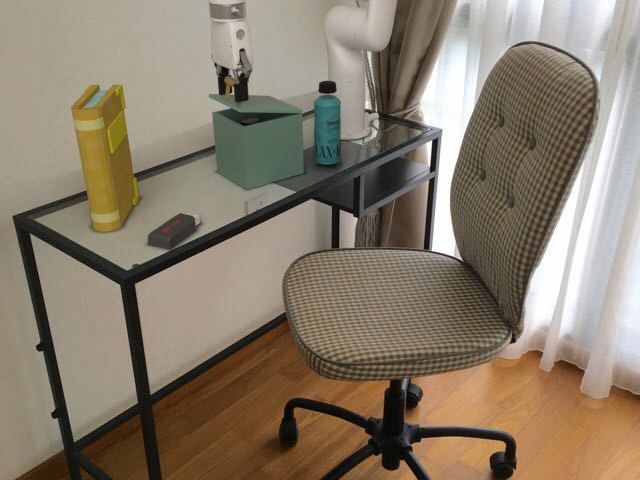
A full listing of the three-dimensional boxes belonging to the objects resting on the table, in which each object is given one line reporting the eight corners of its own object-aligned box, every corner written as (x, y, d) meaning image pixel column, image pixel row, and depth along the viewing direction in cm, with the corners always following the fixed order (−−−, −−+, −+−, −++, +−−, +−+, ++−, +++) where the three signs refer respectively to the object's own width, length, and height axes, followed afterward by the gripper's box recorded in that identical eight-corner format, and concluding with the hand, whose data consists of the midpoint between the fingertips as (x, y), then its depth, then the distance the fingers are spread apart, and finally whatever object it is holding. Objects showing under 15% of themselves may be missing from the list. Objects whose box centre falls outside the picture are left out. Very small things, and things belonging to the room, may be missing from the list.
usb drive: (148, 244, 154) (146, 231, 153) (182, 220, 163) (181, 208, 162) (170, 249, 152) (168, 236, 151) (204, 224, 161) (202, 212, 160)
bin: (247, 189, 176) (243, 127, 169) (217, 171, 186) (211, 112, 178) (303, 173, 184) (302, 113, 176) (272, 156, 193) (269, 99, 186)
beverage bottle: (308, 166, 188) (306, 82, 177) (327, 158, 192) (326, 76, 181) (328, 173, 184) (327, 87, 173) (347, 165, 188) (347, 81, 177)
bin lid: (239, 112, 167) (242, 85, 164) (208, 97, 176) (210, 71, 174) (302, 113, 176) (305, 88, 174) (269, 99, 186) (272, 74, 183)
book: (109, 197, 174) (89, 84, 160) (139, 197, 174) (122, 84, 160) (87, 231, 160) (64, 110, 146) (120, 231, 159) (100, 110, 146)
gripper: (265, 15, 158) (269, 103, 168) (222, 2, 170) (228, 86, 180) (233, 20, 155) (239, 110, 164) (192, 7, 167) (199, 91, 176)
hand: (233, 96), depth 172 cm, fingers closed on bin lid, 6 cm apart
